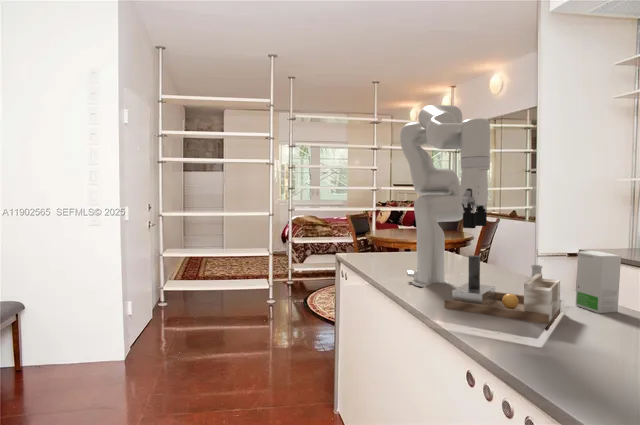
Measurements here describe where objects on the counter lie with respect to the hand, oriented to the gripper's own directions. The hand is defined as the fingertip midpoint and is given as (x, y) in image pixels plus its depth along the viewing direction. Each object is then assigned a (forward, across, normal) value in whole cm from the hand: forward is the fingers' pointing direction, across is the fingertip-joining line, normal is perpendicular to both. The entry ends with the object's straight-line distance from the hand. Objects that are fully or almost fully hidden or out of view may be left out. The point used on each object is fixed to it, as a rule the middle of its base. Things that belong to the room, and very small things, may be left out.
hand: (475, 227), depth 120 cm
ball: (+19, 0, +9) cm, 21 cm away
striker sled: (+21, 0, 0) cm, 21 cm away
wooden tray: (+23, 0, +7) cm, 24 cm away
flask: (+23, -23, +11) cm, 35 cm away
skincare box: (+23, -19, +27) cm, 41 cm away
